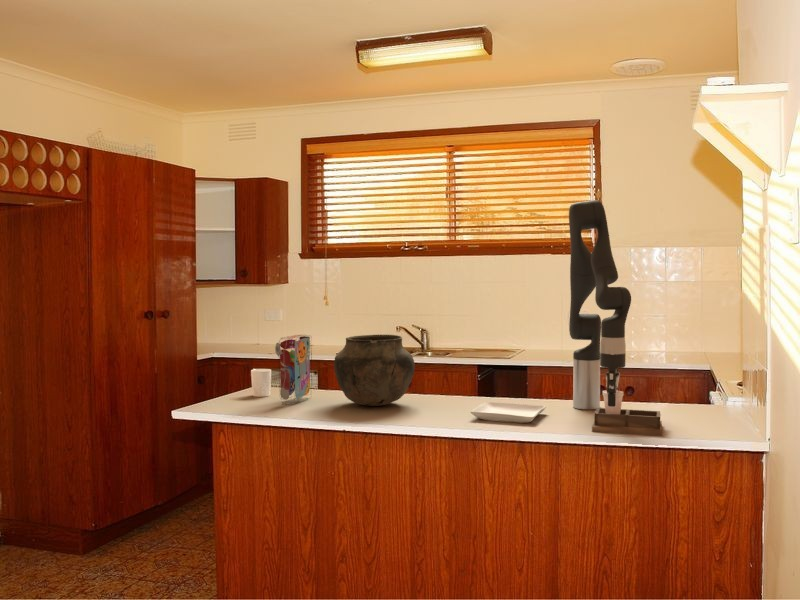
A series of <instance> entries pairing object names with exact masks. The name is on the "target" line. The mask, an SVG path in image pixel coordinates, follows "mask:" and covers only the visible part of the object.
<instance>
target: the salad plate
mask: <svg viewBox="0 0 800 600" xmlns="http://www.w3.org/2000/svg"><path fill="white" fill-rule="evenodd" d="M546 408H547V406H546V405H537V404H526V403H513V402H501V401H500V402H499V401H498V402H497V401H486V402H484V403H481V404H480V405H478V406H476V407H475V408H473V409H471V410H470V411H469V412H470V414H471V415H473V417H475V418H478V419H481V420H484V421H493V422H504V423H506V422H507V423H516V424H524V423H525V424H527V423H531V422H532V421H534V419H535V418H536V417H537V416H538V415H540V414H541V413H543V412H544V411H545V409H546Z"/></svg>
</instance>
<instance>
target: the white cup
mask: <svg viewBox="0 0 800 600" xmlns="http://www.w3.org/2000/svg"><path fill="white" fill-rule="evenodd" d="M250 377H251V389H252V396H253V397H259V398H260V397H261V398H263V397H270V396H271V388H272V387H271V385H272V369H270V368H254V369H251V370H250Z"/></svg>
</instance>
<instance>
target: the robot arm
mask: <svg viewBox="0 0 800 600" xmlns="http://www.w3.org/2000/svg"><path fill="white" fill-rule="evenodd" d="M606 214H607V213H606V210H605V207H604V205H603V203H602V202H601V200H597V199H592V200H586V201H579V202H573V203H571V204H570V206H569V209H568V225H569V239H570V240H569V241H570V265H569V267H570V268H569V273H570V274H569V281H570V282H569V283H570V285H569V286H570V306H569V307H570V309H569V323H568V326H569V327H568V329H569V330H568V331H569V336H570V338H571V339H572V340H576V341H577V340H579V341H590V343H589V344H587V345H586V346H584V347H582V348H579V349H576V350H574V351H573V354H572V355H573V357H572V358H573V362H572V363H573V367H572V369H573V374H572V375H573V376H572V377H573V378H572V379H573V380H572V383H573V384H572V388H573V389H572V393H573V394H572V407H573V409H574V408H575V409H576V410H577V409H578V410H579V409H580V410H596V409H597V408H601V407H600V406H601V368H603V369H604V368H607V369H608V372H606V371H605V372H606V373H605V380H606V383H605V386H606V390H607V394H608V406H611V407H614V406H615V402H616V390H618V388H619V384H620V374H621V373H620V372H619V369H624V368H625V367H626V352H627V351H626V349H627V348H626V333H625V332H626V321H627V318H628V314H629V310H630V308H631V305H632V304H631V303H632V295H631V291H630V290H629V289H628V288H627V287H624V286H609V285H611V284H614V283H616V282H617V281H618V279H619V273H618V269H617V267H616V263H615V259H614V257H613V256H614V255H613V252H612V246H611V240H610V232H609V227H608V226H609V225H608V220H607V215H606ZM593 229H594V230H595V229H596V231H597V239H596V242H595V245H594V247H593V249H592V252H591V251H590V249H588V247H587V245H586V244H585V242H584V239H583V237H582V231H586V230H593ZM594 290H595V297H594V298H595V299H594V300H595V304H596V306H597V307H598V308H599V309H601V310H603V311H613V314H612V315H611V316H609V317H608V316H607V317H605V318H603V319H601V316H600V314H598V313H580V312H581V309H582V307H583V305H584V303H585V302H586V300H587V299H588V297H590V295H591V294H592V292H593V291H594ZM611 388H613V389H611Z"/></svg>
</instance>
